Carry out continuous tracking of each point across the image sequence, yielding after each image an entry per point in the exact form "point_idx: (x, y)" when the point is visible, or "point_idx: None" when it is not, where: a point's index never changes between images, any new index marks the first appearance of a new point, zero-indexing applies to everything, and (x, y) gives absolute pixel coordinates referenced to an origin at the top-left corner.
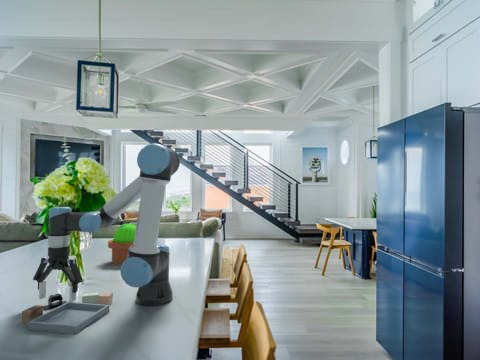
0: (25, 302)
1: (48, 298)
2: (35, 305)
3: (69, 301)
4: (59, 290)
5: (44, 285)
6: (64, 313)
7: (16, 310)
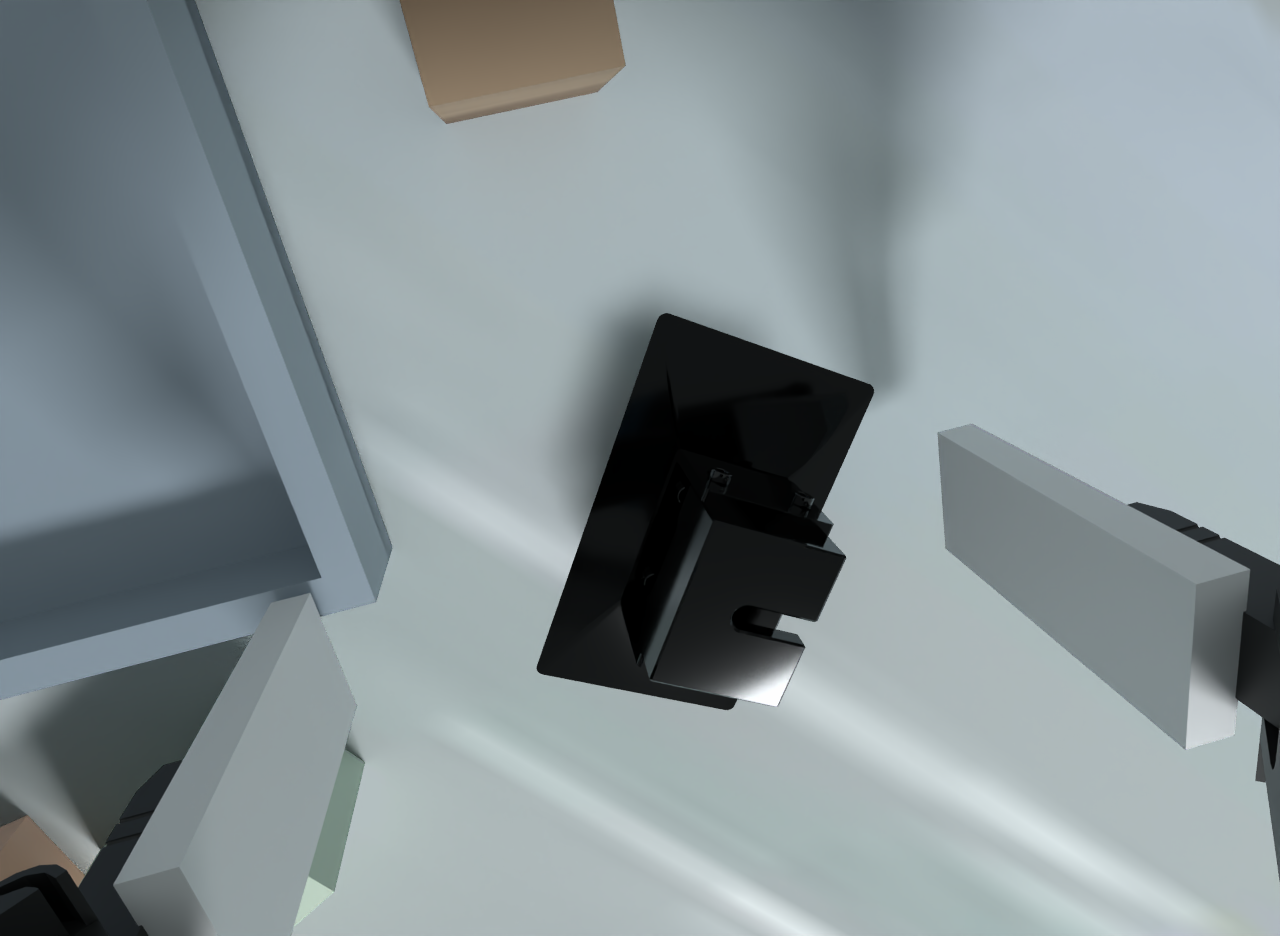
0: (1223, 411)
1: (830, 522)
2: (604, 34)
3: (305, 598)
4: (1115, 875)
5: (1107, 640)
6: (116, 329)
7: (1102, 123)
